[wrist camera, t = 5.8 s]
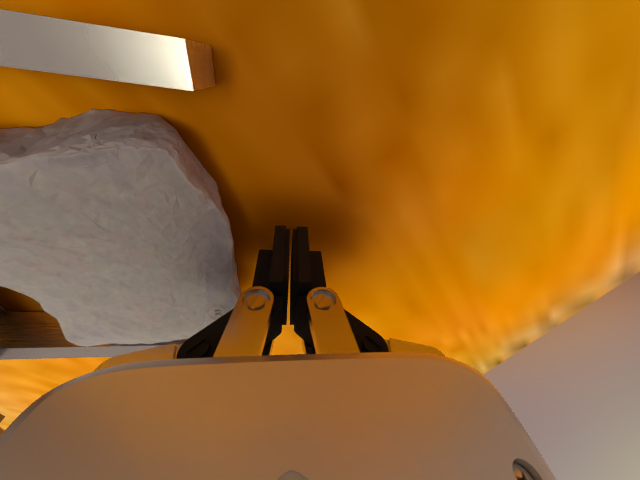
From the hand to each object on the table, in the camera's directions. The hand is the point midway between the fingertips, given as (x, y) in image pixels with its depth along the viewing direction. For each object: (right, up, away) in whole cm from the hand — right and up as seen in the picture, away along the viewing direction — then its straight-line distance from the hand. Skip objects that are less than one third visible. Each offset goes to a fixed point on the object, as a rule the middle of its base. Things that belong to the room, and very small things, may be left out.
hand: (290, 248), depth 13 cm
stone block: (-8, +1, 0) cm, 8 cm away
